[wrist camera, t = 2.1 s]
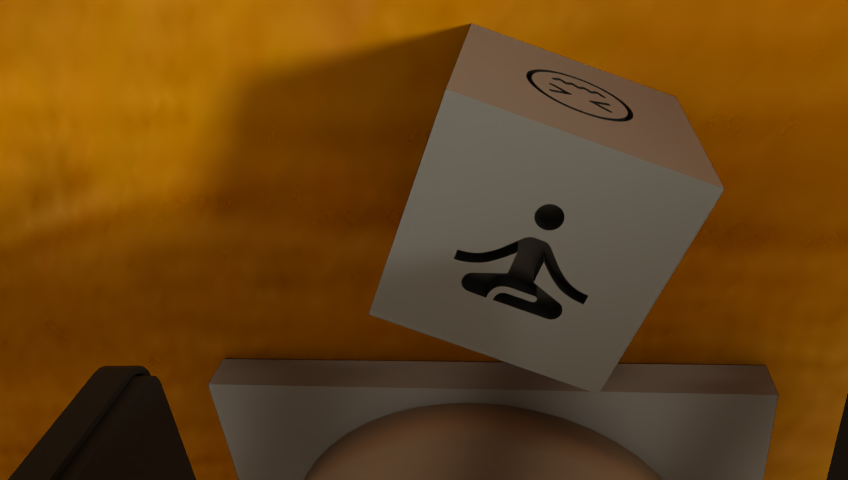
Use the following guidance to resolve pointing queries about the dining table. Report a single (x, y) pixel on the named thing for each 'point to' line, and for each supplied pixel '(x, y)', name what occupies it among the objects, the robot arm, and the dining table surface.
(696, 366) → the bobbin
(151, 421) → the robot arm
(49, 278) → the dining table surface
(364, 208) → the dining table surface
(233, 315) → the dining table surface
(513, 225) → the dice cube
